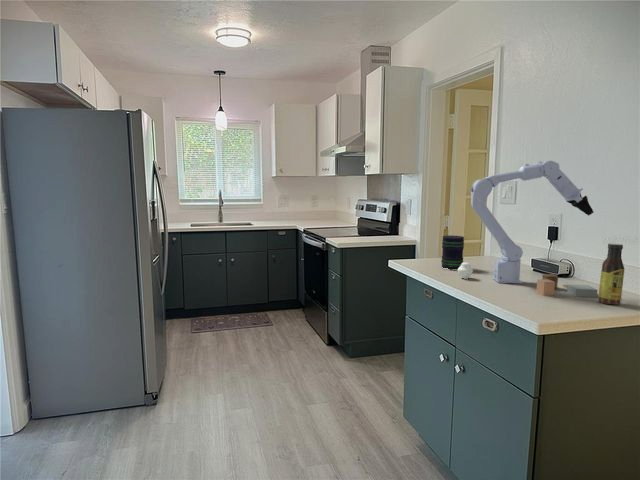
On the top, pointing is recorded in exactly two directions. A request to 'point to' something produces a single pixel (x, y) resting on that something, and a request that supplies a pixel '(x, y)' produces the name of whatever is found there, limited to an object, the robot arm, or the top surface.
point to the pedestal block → (582, 290)
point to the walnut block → (551, 278)
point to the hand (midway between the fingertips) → (588, 212)
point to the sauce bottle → (612, 276)
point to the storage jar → (452, 251)
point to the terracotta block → (545, 287)
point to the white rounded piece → (465, 270)
